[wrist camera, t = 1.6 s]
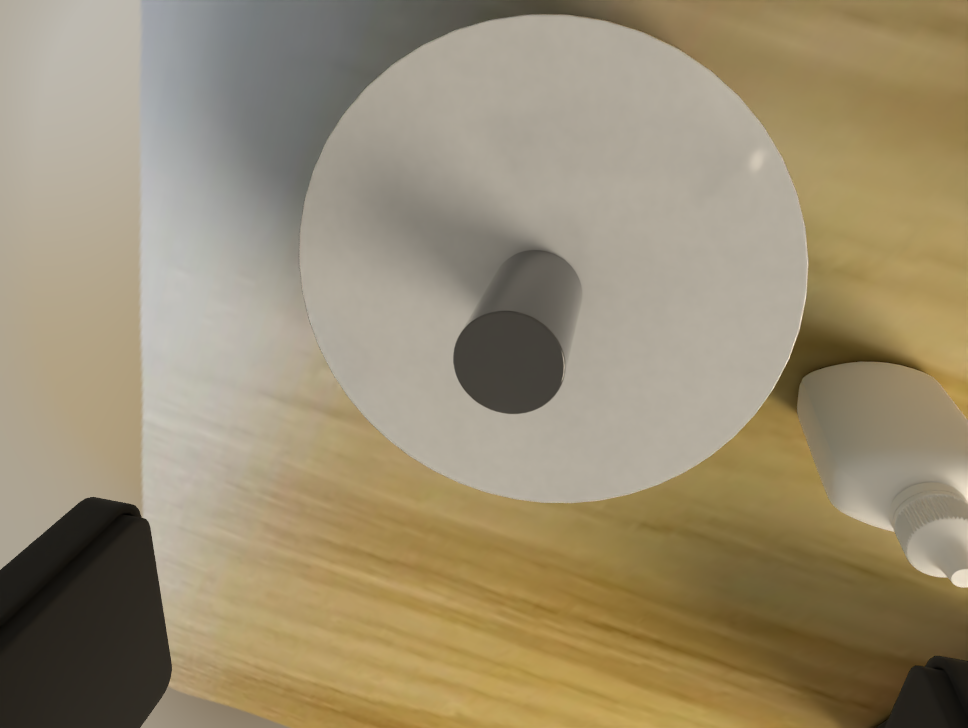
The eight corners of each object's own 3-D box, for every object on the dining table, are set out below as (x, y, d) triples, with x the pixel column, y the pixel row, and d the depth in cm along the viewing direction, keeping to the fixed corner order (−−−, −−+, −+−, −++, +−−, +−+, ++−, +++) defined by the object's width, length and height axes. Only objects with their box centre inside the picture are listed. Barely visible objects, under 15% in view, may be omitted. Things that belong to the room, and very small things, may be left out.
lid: (302, -8, 23) (182, -13, 17) (870, 38, 20) (959, 49, 15) (318, 448, 30) (238, 552, 24) (738, 521, 28) (761, 658, 22)
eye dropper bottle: (887, 458, 34) (994, 663, 23) (777, 403, 34) (835, 583, 23) (953, 384, 32) (1104, 572, 21) (838, 325, 32) (931, 484, 21)
